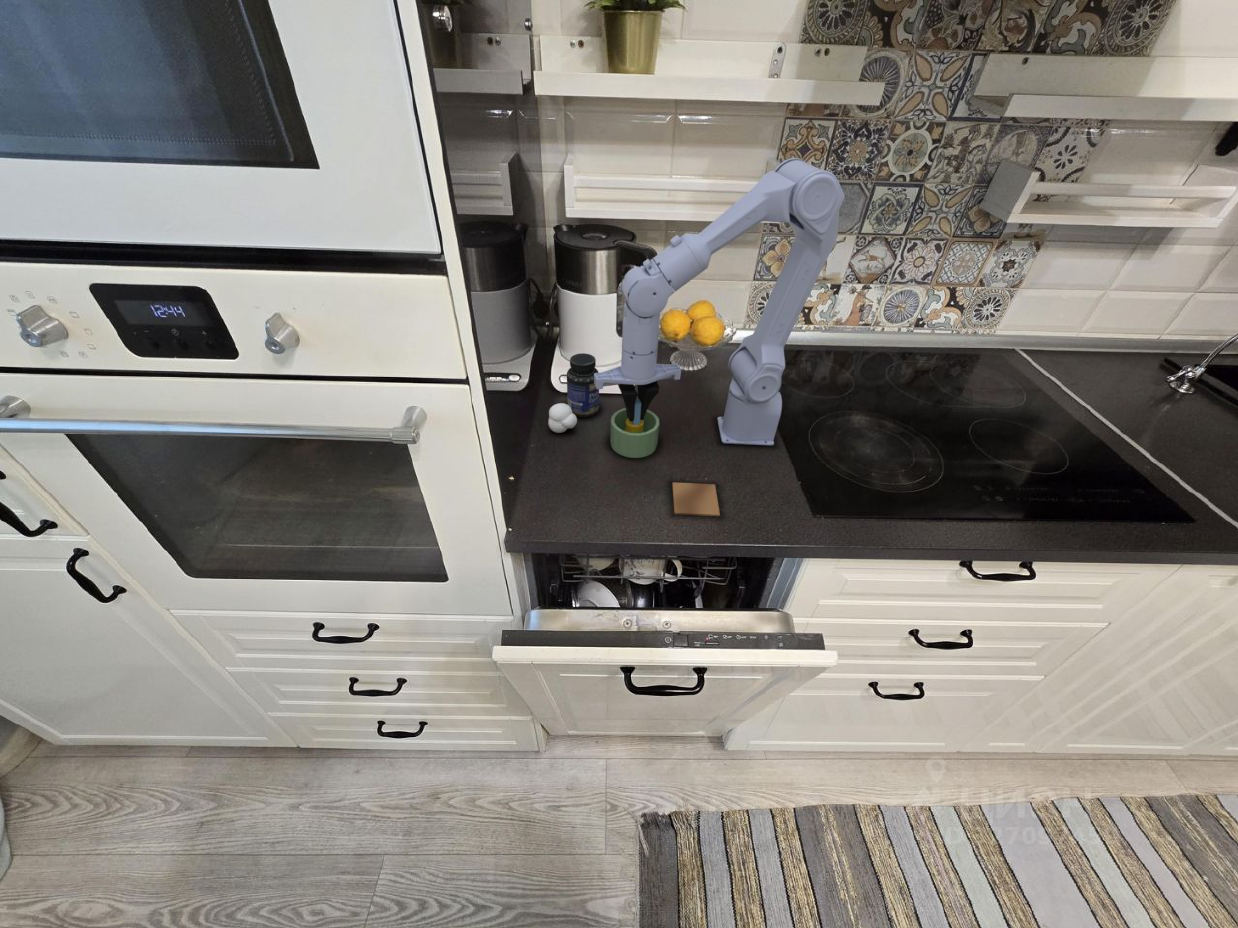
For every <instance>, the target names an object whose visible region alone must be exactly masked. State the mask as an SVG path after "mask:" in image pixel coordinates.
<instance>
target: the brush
mask: <svg viewBox="0 0 1238 928" xmlns="http://www.w3.org/2000/svg"><path fill="white" fill-rule="evenodd" d="M640 415H641V402H640V400H639V398H638V396H637V398H636V403H635V417H634V421H629V419H627V420H626V428H625V431H626V432H630V433H643V427H644V421H643V420H640Z"/></svg>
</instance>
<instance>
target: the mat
mask: <svg viewBox="0 0 1238 928" xmlns="http://www.w3.org/2000/svg"><path fill="white" fill-rule="evenodd" d="M671 485H672V499H673V500H672V501H673V514H674V515H681V516H698V517H699V516H702V517H720V516H721V514H720V507H719V500H718V494H717V489H716V484H713V483H696V482H695V483H693V482H672V483H671Z"/></svg>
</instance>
